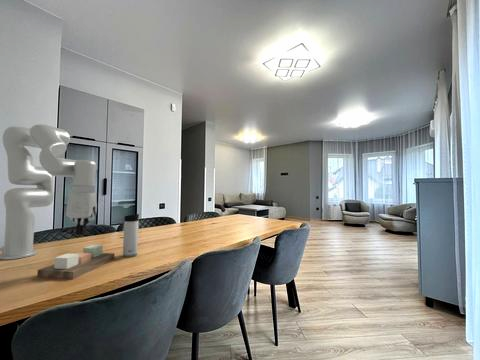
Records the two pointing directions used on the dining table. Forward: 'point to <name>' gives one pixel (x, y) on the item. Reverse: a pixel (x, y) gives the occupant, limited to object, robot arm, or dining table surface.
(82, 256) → the terracotta key
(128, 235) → the travel mug
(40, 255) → the dining table surface
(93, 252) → the sage key
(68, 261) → the cream key
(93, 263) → the walnut panel
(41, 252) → the dining table surface
